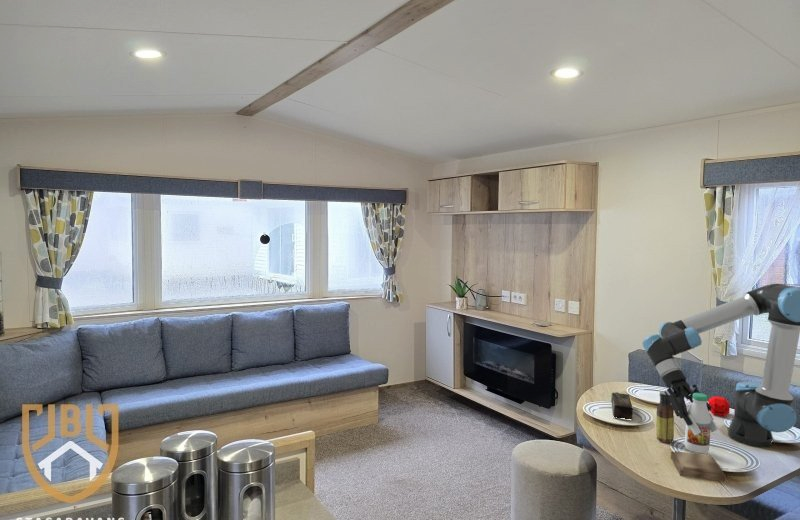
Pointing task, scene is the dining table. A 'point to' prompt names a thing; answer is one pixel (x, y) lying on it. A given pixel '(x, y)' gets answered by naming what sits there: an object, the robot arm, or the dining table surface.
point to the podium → (697, 466)
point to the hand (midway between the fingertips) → (706, 432)
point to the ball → (719, 406)
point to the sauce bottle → (665, 420)
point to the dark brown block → (621, 406)
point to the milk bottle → (699, 425)
